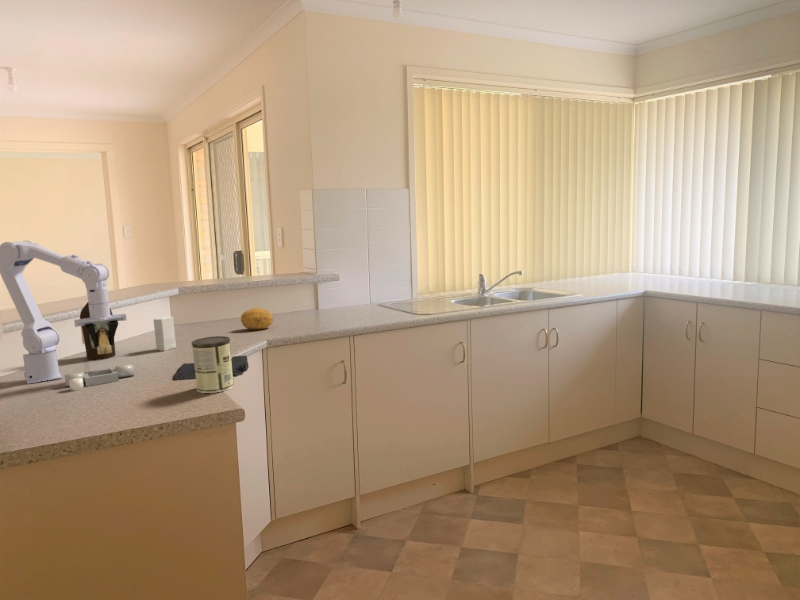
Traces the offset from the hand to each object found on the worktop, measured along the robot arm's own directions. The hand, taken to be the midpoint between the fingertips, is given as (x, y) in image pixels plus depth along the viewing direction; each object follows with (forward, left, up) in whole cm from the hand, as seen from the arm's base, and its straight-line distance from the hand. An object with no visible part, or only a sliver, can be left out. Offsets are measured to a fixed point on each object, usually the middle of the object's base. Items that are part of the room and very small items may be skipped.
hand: (104, 345), depth 191 cm
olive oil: (+2, +34, -10) cm, 35 cm away
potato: (+64, +43, -10) cm, 77 cm away
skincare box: (+24, +30, -10) cm, 39 cm away
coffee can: (+24, -38, -10) cm, 46 cm away
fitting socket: (-2, -4, -10) cm, 11 cm away
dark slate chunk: (+28, -19, -11) cm, 35 cm away
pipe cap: (-9, -10, -10) cm, 17 cm away
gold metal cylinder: (0, 0, -2) cm, 2 cm away
